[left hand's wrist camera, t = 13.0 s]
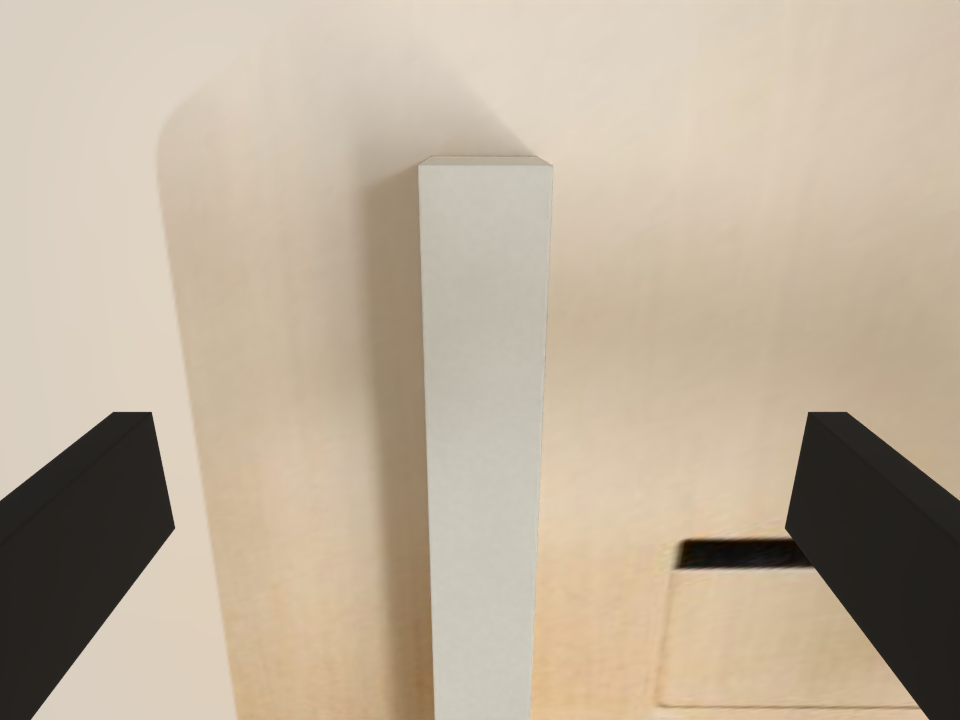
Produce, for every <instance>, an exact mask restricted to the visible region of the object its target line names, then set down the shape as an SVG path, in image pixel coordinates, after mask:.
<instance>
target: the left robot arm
mask: <svg viewBox="0 0 960 720" xmlns="http://www.w3.org/2000/svg"><path fill="white" fill-rule="evenodd" d="M174 529H175V525H174V520H173V515H172V510H171V505H170V501H169V496H168V490H167V486H166V481H165V476H164V471H163V466H162V461H161V456H160V451H159V446H158V441H157V436H156V431H155V426H154V421H153V416H152V412H113V413H111V414H110V415H109V416H108V417H106V418H105V419H104V420H103V421H101V422H100V423H99V424H97V425H96V426H95V427H94V428H92V429H91V430H90V431H89V432H87V433H86V434H85V435H84V436H82V437H81V438H80V439H78V440H77V441H76V442H75V443H73V444H72V445H71V446H69V447H68V448H67V449H66V450H64V451H63V452H62V453H61V454H59V455H58V456H57V457H56V458H54V459H53V460H52V461H50V462H49V463H48V464H47V465H45V466H44V467H43V468H41V469H40V470H39V471H38V472H36V473H35V474H34V475H33V476H31V477H30V478H29V479H27V480H26V481H25V482H24V483H22V484H21V485H20V486H19V487H17V488H16V489H15V490H13V491H12V492H11V493H10V494H8V495H7V496H6V497H5V498H3V499H2V500H1V501H0V720H31V719H32V717H33V716H34V715H35V713H36V712H37V711H38V709H39V708H40V707H41V705H42V704H43V703H44V701H45V700H46V699H47V697H48V696H49V695H50V694H51V692H52V691H53V690H54V688H55V687H56V686H57V684H58V683H59V682H60V680H61V679H62V678H63V676H64V675H65V674H66V672H67V671H68V670H69V668H70V667H71V666H72V664H73V663H74V662H75V660H76V659H77V658H78V656H79V655H80V654H81V652H82V651H83V650H84V648H85V647H86V646H87V644H88V643H89V642H90V640H91V639H92V638H93V636H94V635H95V634H96V633H97V631H98V630H99V629H100V627H101V626H102V625H103V623H104V622H105V621H106V619H107V618H108V617H109V615H110V614H111V613H112V611H113V610H114V609H115V607H116V606H117V605H118V603H119V602H120V601H121V599H122V598H123V597H124V595H125V594H126V593H127V591H128V590H129V589H130V587H131V586H132V585H133V583H134V582H135V581H136V579H137V578H138V577H139V575H140V574H141V573H142V572H143V570H144V569H145V568H146V566H147V565H148V564H149V562H150V561H151V560H152V558H153V557H154V556H155V554H156V553H157V552H158V550H159V549H160V548H161V546H162V545H163V544H164V542H165V541H166V540H167V538H168V537H169V536H170V534H171V533H172V532H173V530H174ZM785 529H786V530H787V532H788V533H789V534H790V536H791V537H792V538H793V540H794V541H795V542H796V544H797V545H798V546H799V548H800V549H801V550H802V552H803V553H804V554H805V556H806V557H807V558H808V560H809V561H810V562H811V564H812V565H813V566H814V568H815V569H816V570H817V572H818V573H819V574H820V575H821V577H822V578H823V579H824V581H825V582H826V583H827V585H828V586H829V587H830V589H831V590H832V591H833V593H834V594H835V595H836V597H837V598H838V599H839V601H840V602H841V603H842V605H843V606H844V607H845V609H846V610H847V611H848V613H849V614H850V615H851V617H852V618H853V619H854V621H855V622H856V623H857V625H858V626H859V627H860V629H861V630H862V631H863V633H864V634H865V635H866V636H867V638H868V639H869V640H870V642H871V643H872V644H873V646H874V647H875V648H876V650H877V651H878V652H879V654H880V655H881V656H882V658H883V659H884V660H885V662H886V663H887V664H888V666H889V667H890V668H891V670H892V671H893V672H894V674H895V675H896V676H897V678H898V679H899V680H900V682H901V683H902V684H903V686H904V687H905V688H906V690H907V691H908V692H909V694H910V695H911V696H912V698H913V699H914V700H915V701H916V703H917V704H918V705H919V707H920V708H921V709H922V711H923V712H924V713H925V715H926V716H927V717H928V719H929V720H960V501H959V500H958V499H957V498H955V497H954V496H953V495H952V494H950V493H949V492H948V491H947V490H945V489H944V488H943V487H941V486H940V485H939V484H938V483H936V482H935V481H934V480H933V479H931V478H930V477H929V476H927V475H926V474H925V473H924V472H922V471H921V470H920V469H919V468H917V467H916V466H915V465H913V464H912V463H911V462H910V461H908V460H907V459H906V458H905V457H903V456H902V455H901V454H899V453H898V452H897V451H896V450H894V449H893V448H892V447H891V446H889V445H888V444H887V443H885V442H884V441H883V440H882V439H880V438H879V437H878V436H877V435H875V434H874V433H873V432H871V431H870V430H869V429H868V428H866V427H865V426H864V425H863V424H861V423H860V422H859V421H857V420H856V419H855V418H854V417H852V416H851V415H850V414H849V413H847V412H808V416H807V421H806V426H805V431H804V436H803V441H802V446H801V451H800V456H799V461H798V466H797V471H796V476H795V481H794V486H793V490H792V495H791V500H790V505H789V510H788V515H787V520H786V525H785Z"/></svg>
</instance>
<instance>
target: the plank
mask: <svg viewBox="0 0 960 720" xmlns="http://www.w3.org/2000/svg"><path fill="white" fill-rule="evenodd" d="M552 189H553V165H551V164H549V163H548V162H546V161H544V160H542V159H541V158H539V157H537V156H431V157H429V158H428V159H426V160H425V161H424V162H422V163H421V164H419V165H418V194H419V227H420V259H421V292H422V325H423V358H424V391H425V424H426V456H427V489H428V522H429V555H430V588H431V621H432V654H433V686H434V719H435V720H530V710H531V686H532V662H533V639H534V615H535V591H536V568H537V544H538V520H539V497H540V473H541V449H542V426H543V402H544V378H545V354H546V331H547V307H548V283H549V260H550V236H551V212H552Z"/></svg>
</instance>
